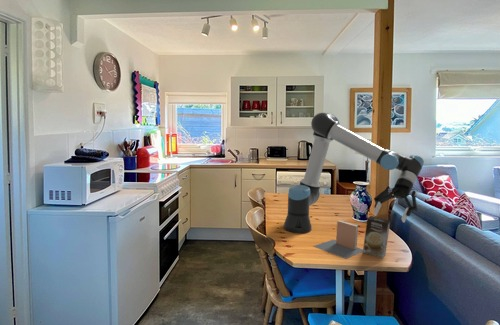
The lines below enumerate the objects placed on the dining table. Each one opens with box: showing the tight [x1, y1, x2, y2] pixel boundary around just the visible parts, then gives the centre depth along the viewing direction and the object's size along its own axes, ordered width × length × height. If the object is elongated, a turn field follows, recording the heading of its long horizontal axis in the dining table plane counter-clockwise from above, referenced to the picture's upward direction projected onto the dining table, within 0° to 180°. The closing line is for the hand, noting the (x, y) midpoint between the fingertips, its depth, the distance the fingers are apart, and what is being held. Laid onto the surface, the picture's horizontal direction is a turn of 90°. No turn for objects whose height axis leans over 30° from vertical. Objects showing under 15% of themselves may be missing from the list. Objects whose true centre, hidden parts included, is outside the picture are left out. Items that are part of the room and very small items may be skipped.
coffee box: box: [362, 215, 391, 259], centre depth 149 cm, size 9×6×16 cm
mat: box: [312, 239, 363, 260], centre depth 155 cm, size 18×16×1 cm
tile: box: [335, 220, 359, 249], centre depth 158 cm, size 10×2×11 cm, turn 40°
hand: (388, 217), depth 154 cm, fingers open, 13 cm apart
